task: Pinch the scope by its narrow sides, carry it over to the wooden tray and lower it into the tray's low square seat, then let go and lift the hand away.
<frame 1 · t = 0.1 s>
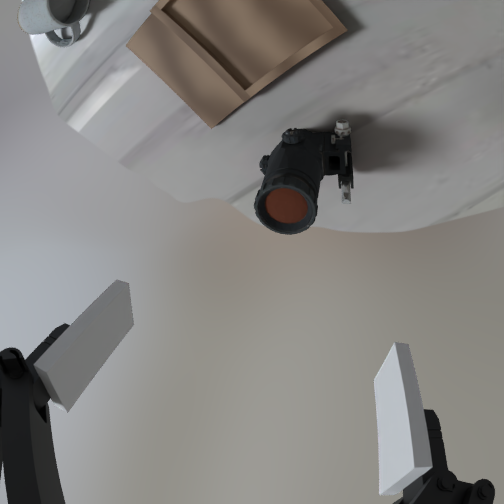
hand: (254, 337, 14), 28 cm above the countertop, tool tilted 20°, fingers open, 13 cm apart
wooden tray: (246, 11, 25), on the countertop
ceramic mug: (72, 10, 26), on the countertop
scope: (310, 143, 36), on the countertop
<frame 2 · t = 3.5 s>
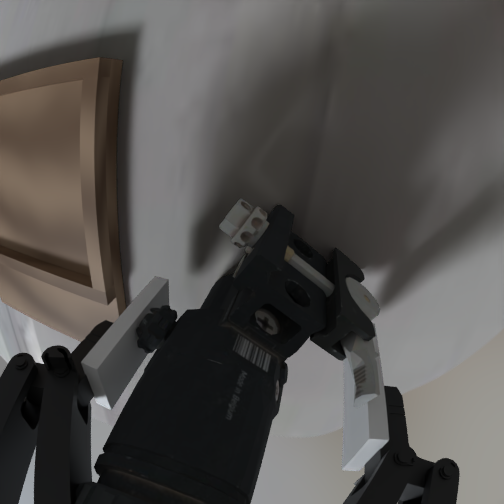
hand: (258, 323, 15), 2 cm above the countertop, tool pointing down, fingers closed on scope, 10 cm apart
wooden tray: (30, 174, 17), on the countertop
scope: (257, 292, 17), on the countertop, touching gripper
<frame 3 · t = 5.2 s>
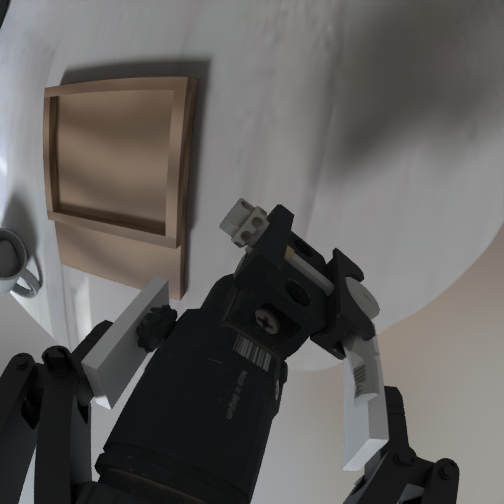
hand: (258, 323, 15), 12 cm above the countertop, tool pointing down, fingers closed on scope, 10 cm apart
wooden tray: (112, 154, 26), on the countertop
ceramic mug: (21, 260, 36), on the countertop
scope: (257, 292, 17), point 9 cm above the countertop, touching gripper
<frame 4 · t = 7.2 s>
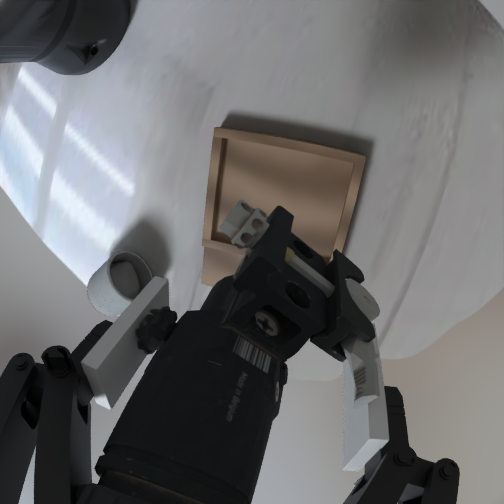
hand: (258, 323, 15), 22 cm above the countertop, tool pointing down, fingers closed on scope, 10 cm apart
wooden tray: (280, 198, 35), on the countertop
ceramic mug: (138, 279, 45), on the countertop
scope: (257, 293, 17), point 20 cm above the countertop, touching gripper
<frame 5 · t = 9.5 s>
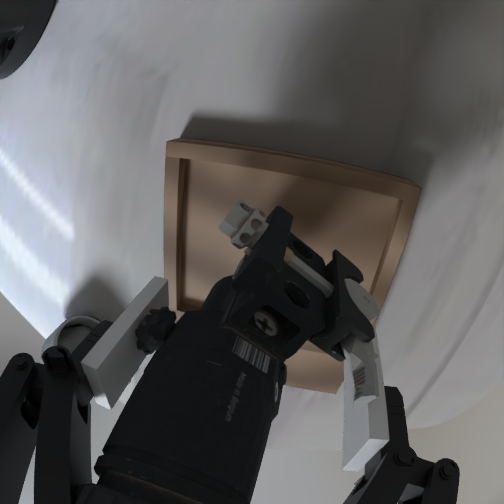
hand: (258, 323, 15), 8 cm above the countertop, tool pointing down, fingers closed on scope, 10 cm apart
wooden tray: (278, 250, 22), on the countertop
ceramic mug: (101, 343, 33), on the countertop
scope: (256, 293, 17), point 6 cm above the countertop, touching gripper
when the fingers open (5 cm above the countertop, at t = 11.1 s): scope drops 1 cm, resting on wooden tray.
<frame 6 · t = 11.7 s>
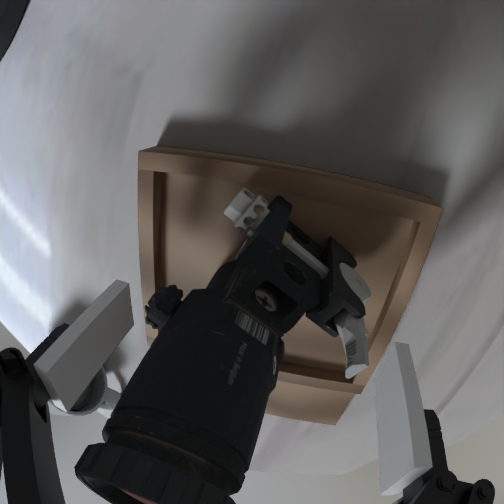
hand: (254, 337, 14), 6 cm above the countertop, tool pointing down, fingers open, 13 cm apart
wooden tray: (272, 277, 19), on the countertop
ceramic mug: (90, 367, 30), on the countertop
scope: (257, 278, 19), point 1 cm above the countertop, touching wooden tray
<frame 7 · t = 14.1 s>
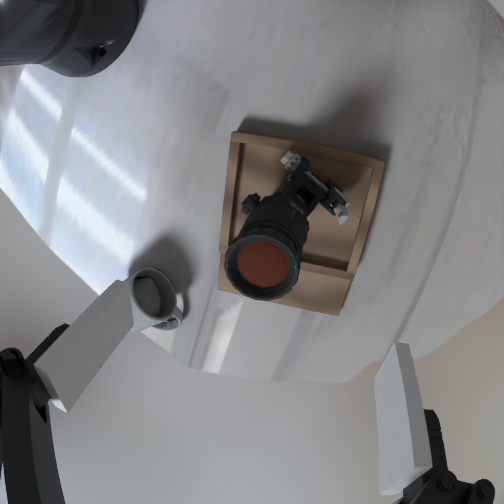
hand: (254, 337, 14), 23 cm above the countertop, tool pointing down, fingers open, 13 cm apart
wooden tray: (298, 203, 34), on the countertop
ceramic mug: (158, 294, 45), on the countertop
scope: (290, 202, 34), point 1 cm above the countertop, touching wooden tray
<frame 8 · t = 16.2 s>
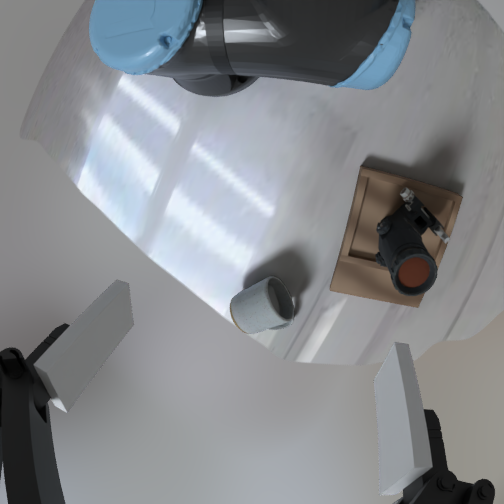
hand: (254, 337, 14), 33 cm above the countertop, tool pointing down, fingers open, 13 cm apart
wooden tray: (400, 224, 42), on the countertop
ceramic mug: (271, 298, 53), on the countertop
scope: (396, 223, 42), point 1 cm above the countertop, touching wooden tray
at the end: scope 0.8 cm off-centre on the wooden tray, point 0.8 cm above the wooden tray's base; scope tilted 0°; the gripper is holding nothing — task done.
